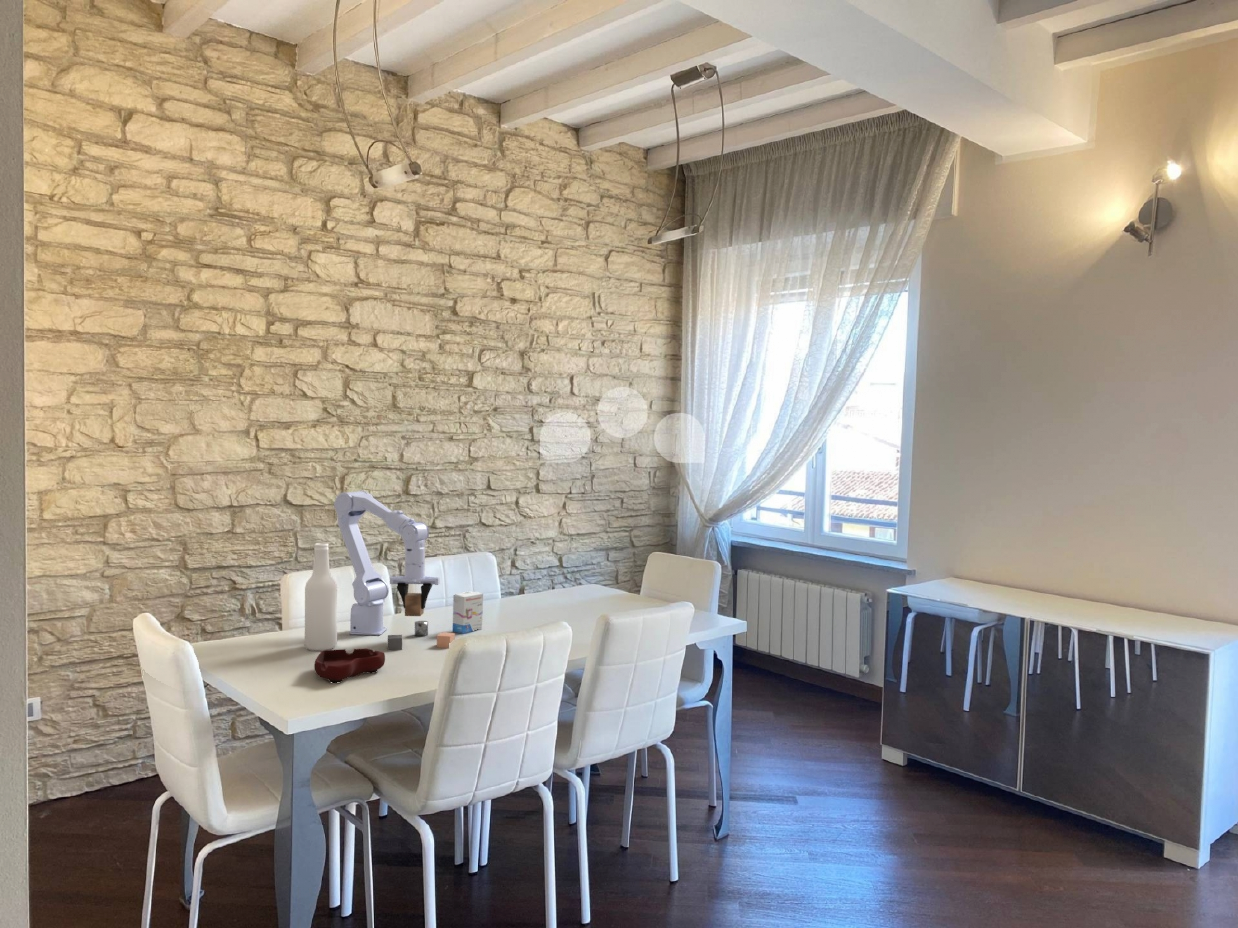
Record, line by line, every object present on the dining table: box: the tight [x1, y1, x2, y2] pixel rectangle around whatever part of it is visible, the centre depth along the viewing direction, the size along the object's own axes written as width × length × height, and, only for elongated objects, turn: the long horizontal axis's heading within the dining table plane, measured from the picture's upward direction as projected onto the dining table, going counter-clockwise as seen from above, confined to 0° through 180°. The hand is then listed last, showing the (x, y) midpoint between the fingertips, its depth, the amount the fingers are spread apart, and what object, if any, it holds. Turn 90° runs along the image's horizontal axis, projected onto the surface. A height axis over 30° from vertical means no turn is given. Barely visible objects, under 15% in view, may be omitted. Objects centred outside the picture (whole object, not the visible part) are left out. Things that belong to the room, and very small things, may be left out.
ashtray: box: [313, 648, 386, 684], centre depth 230 cm, size 18×16×5 cm
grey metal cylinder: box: [414, 620, 429, 638], centre depth 272 cm, size 4×4×4 cm
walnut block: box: [404, 592, 425, 617], centre depth 266 cm, size 5×5×6 cm
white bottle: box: [304, 542, 338, 652], centre depth 254 cm, size 9×9×30 cm
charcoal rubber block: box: [387, 634, 403, 651], centre depth 256 cm, size 4×4×4 cm
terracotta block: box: [436, 631, 456, 649], centre depth 260 cm, size 4×4×4 cm
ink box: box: [452, 590, 484, 634], centre depth 278 cm, size 9×5×12 cm, turn 143°
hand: (414, 607), depth 266 cm, fingers closed on walnut block, 5 cm apart
